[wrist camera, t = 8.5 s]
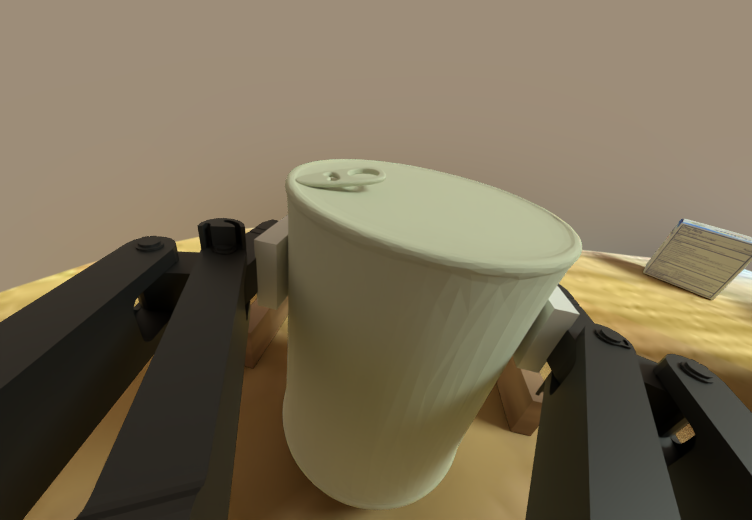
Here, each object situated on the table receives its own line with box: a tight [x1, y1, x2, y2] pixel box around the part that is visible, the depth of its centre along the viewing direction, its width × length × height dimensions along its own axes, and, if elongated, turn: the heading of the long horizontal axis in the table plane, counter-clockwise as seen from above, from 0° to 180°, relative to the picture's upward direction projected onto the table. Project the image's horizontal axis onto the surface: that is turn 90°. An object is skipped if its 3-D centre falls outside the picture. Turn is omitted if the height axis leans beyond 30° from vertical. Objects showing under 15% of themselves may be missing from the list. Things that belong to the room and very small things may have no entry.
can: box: [282, 159, 582, 510], centre depth 12 cm, size 9×9×12 cm
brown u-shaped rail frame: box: [245, 296, 544, 436], centre depth 22 cm, size 14×18×3 cm
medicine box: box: [643, 219, 752, 300], centre depth 39 cm, size 8×4×9 cm, turn 43°
